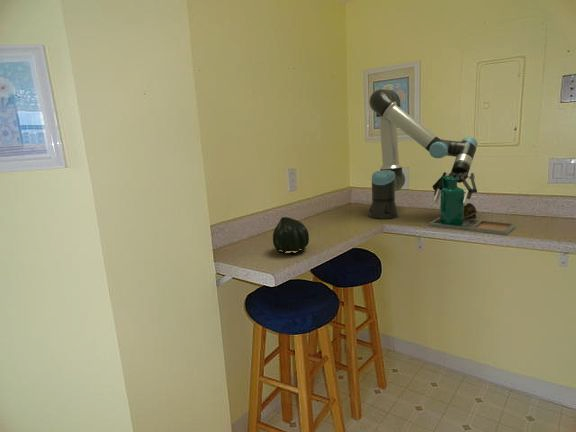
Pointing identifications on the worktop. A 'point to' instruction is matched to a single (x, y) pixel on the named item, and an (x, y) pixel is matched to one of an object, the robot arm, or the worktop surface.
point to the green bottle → (451, 202)
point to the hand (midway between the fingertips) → (449, 202)
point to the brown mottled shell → (469, 210)
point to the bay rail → (479, 226)
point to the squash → (290, 235)
